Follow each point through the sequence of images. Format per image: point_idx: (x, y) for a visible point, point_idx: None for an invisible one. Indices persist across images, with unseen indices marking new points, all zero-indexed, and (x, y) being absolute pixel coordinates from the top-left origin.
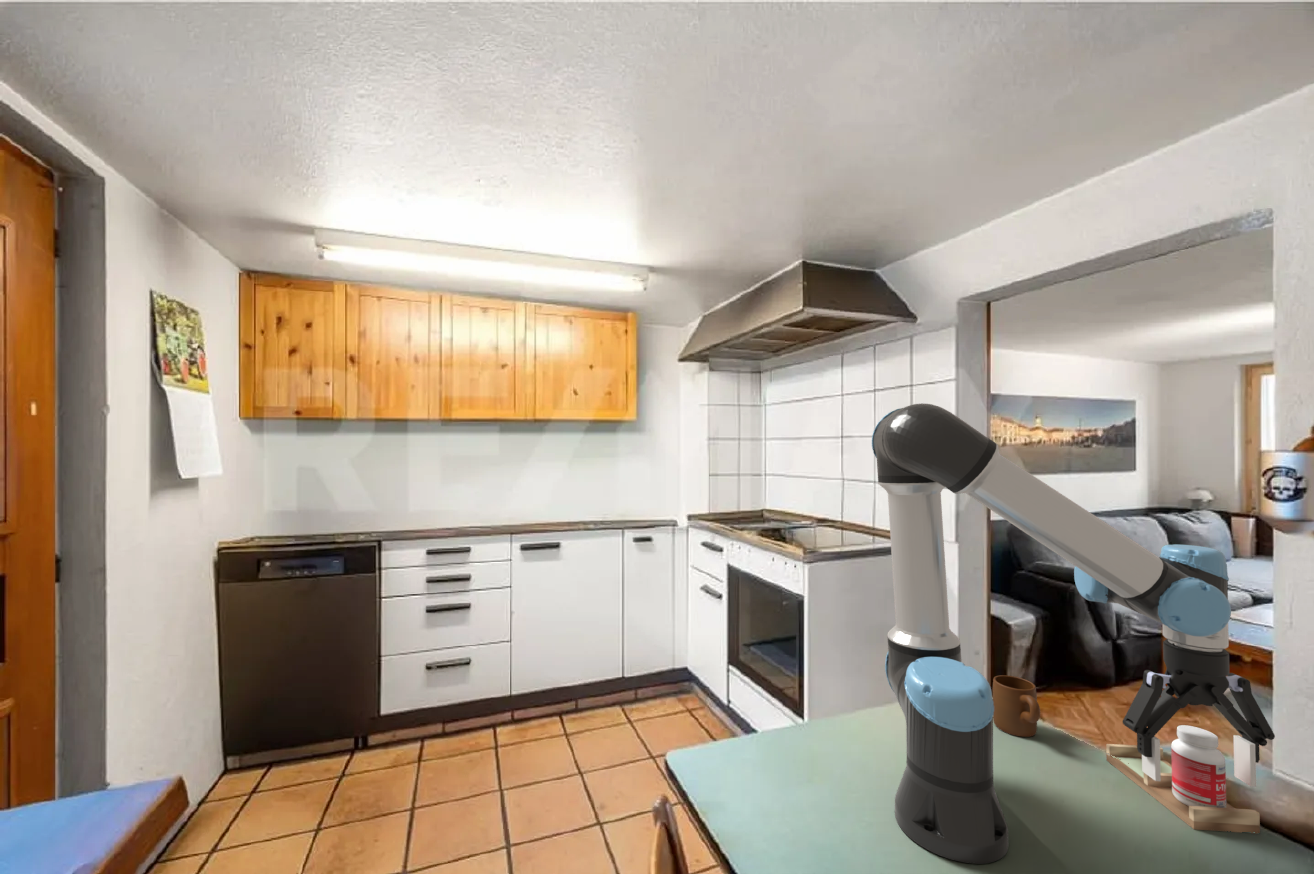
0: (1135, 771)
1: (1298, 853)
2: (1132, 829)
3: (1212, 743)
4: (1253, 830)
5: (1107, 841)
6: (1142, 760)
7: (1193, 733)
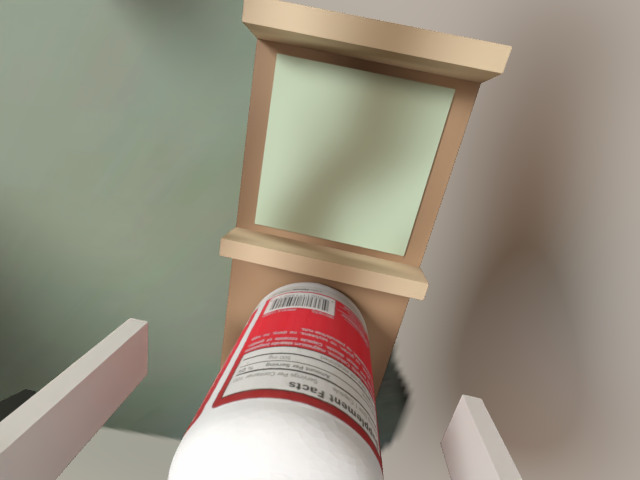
0: (262, 166)
1: None
2: (86, 345)
3: None
4: None
5: (10, 364)
6: (94, 348)
7: None
